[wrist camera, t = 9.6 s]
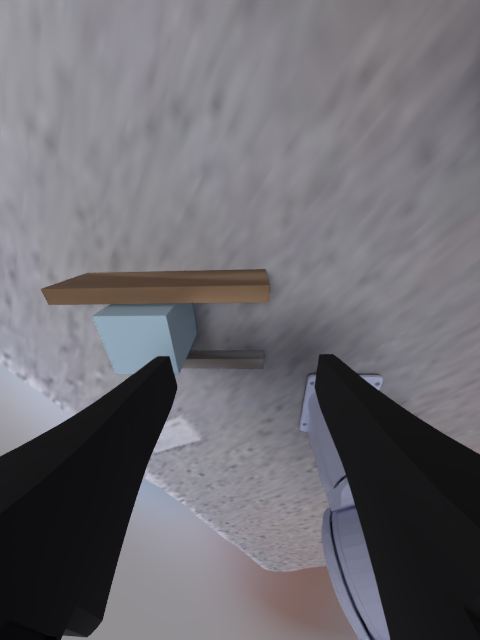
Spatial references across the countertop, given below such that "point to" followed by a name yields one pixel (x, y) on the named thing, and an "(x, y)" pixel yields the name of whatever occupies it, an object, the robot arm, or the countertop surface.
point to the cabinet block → (146, 334)
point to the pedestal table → (172, 299)
